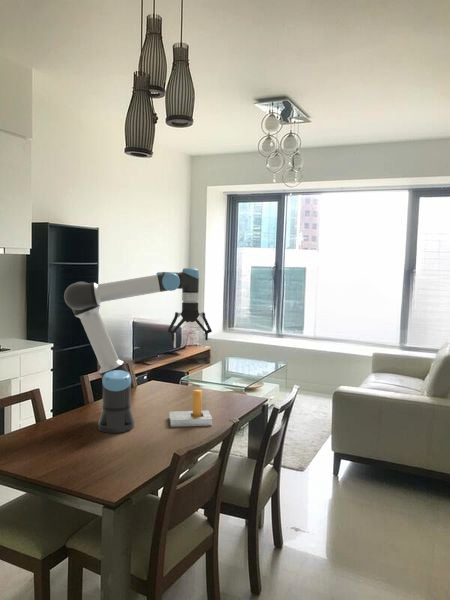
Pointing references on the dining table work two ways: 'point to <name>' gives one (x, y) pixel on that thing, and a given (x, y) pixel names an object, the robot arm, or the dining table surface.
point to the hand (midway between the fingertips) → (189, 347)
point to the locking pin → (197, 403)
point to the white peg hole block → (189, 418)
